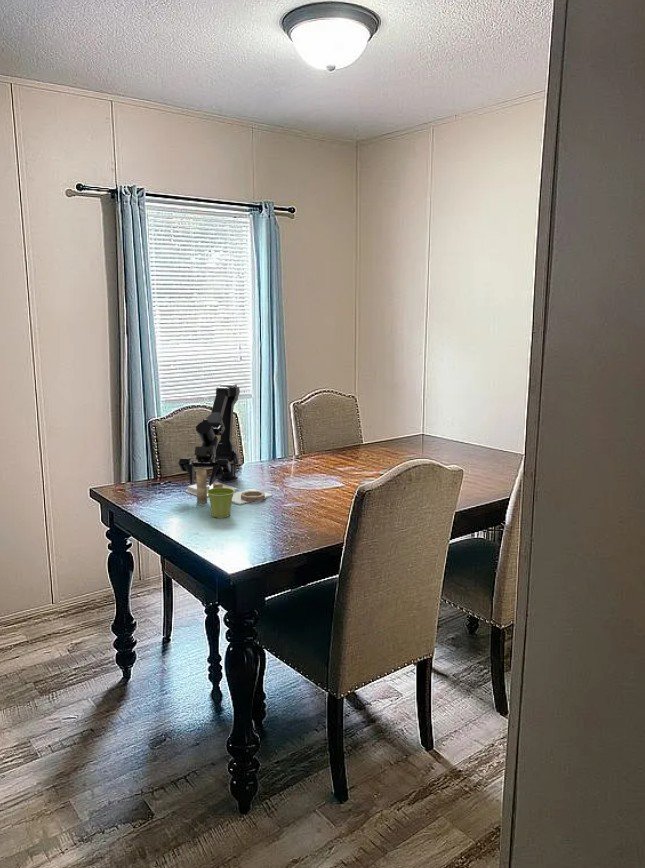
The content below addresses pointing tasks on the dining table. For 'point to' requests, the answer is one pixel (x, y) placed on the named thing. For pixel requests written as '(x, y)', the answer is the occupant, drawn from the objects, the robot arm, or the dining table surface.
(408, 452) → the dining table surface
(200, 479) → the dowel
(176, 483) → the dining table surface
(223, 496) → the plant pot
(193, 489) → the tile
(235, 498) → the board
